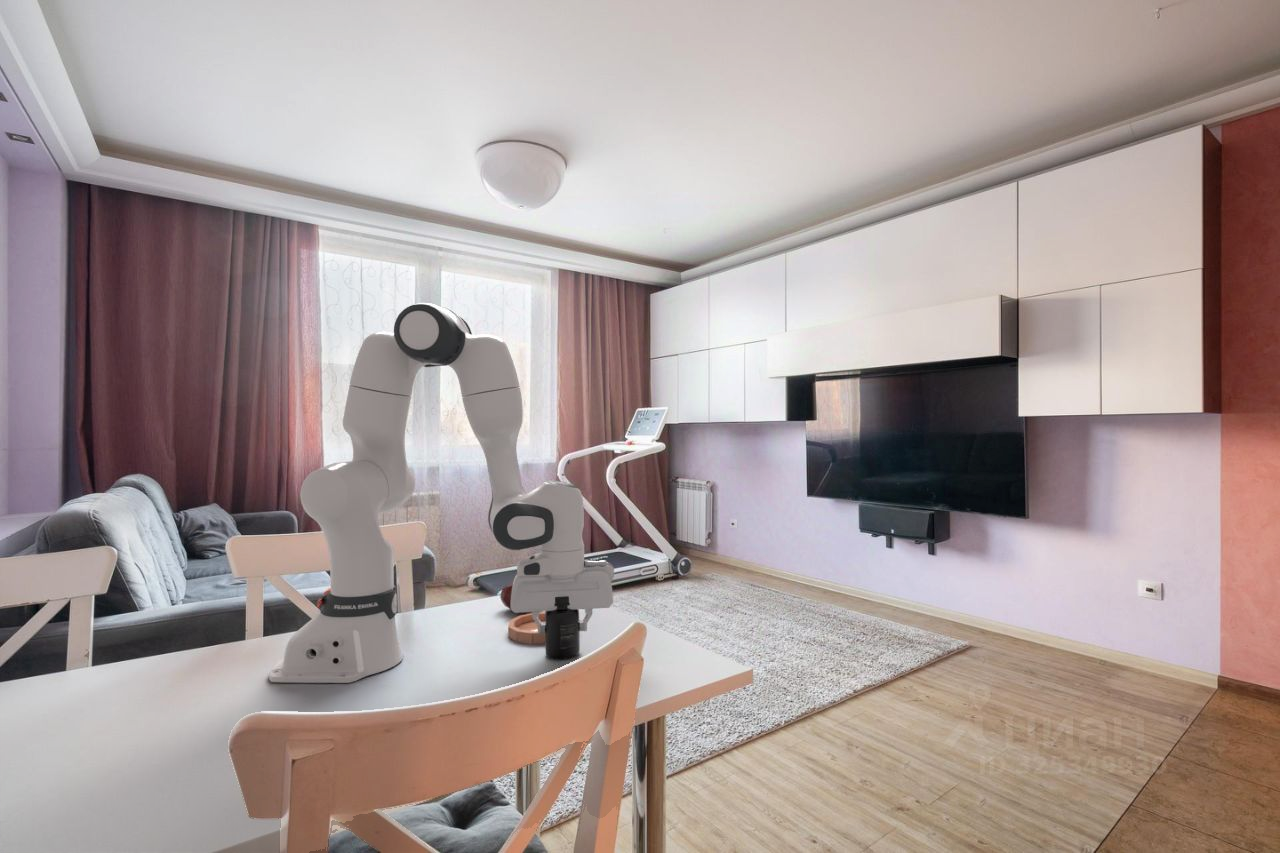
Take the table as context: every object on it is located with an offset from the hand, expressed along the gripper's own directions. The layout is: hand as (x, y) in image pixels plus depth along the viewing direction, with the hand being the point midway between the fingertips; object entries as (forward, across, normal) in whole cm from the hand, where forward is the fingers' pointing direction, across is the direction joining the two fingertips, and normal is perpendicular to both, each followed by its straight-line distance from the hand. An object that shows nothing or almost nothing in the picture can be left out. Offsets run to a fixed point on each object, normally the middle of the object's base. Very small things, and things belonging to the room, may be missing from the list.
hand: (562, 631), depth 120 cm
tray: (+4, +4, -14) cm, 15 cm away
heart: (+5, +8, -30) cm, 31 cm away
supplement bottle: (+5, 0, 0) cm, 5 cm away
